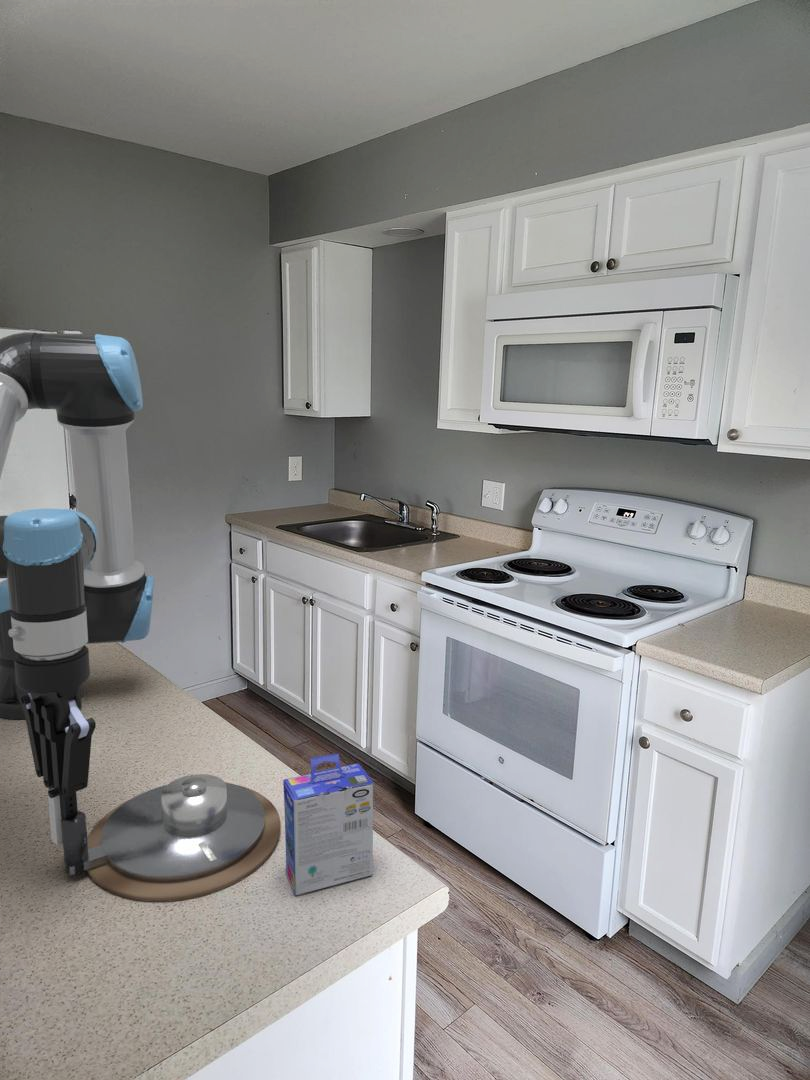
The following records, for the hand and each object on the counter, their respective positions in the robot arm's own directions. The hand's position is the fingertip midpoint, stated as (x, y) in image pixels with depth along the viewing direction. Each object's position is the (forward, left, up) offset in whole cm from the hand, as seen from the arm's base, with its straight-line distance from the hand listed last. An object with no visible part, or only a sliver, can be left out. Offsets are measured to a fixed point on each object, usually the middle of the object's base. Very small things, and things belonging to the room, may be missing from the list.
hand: (65, 837), depth 86 cm
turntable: (+2, +12, -3) cm, 12 cm away
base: (+2, +14, -4) cm, 14 cm away
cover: (+2, +15, -2) cm, 15 cm away
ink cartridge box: (+18, +26, -4) cm, 31 cm away
